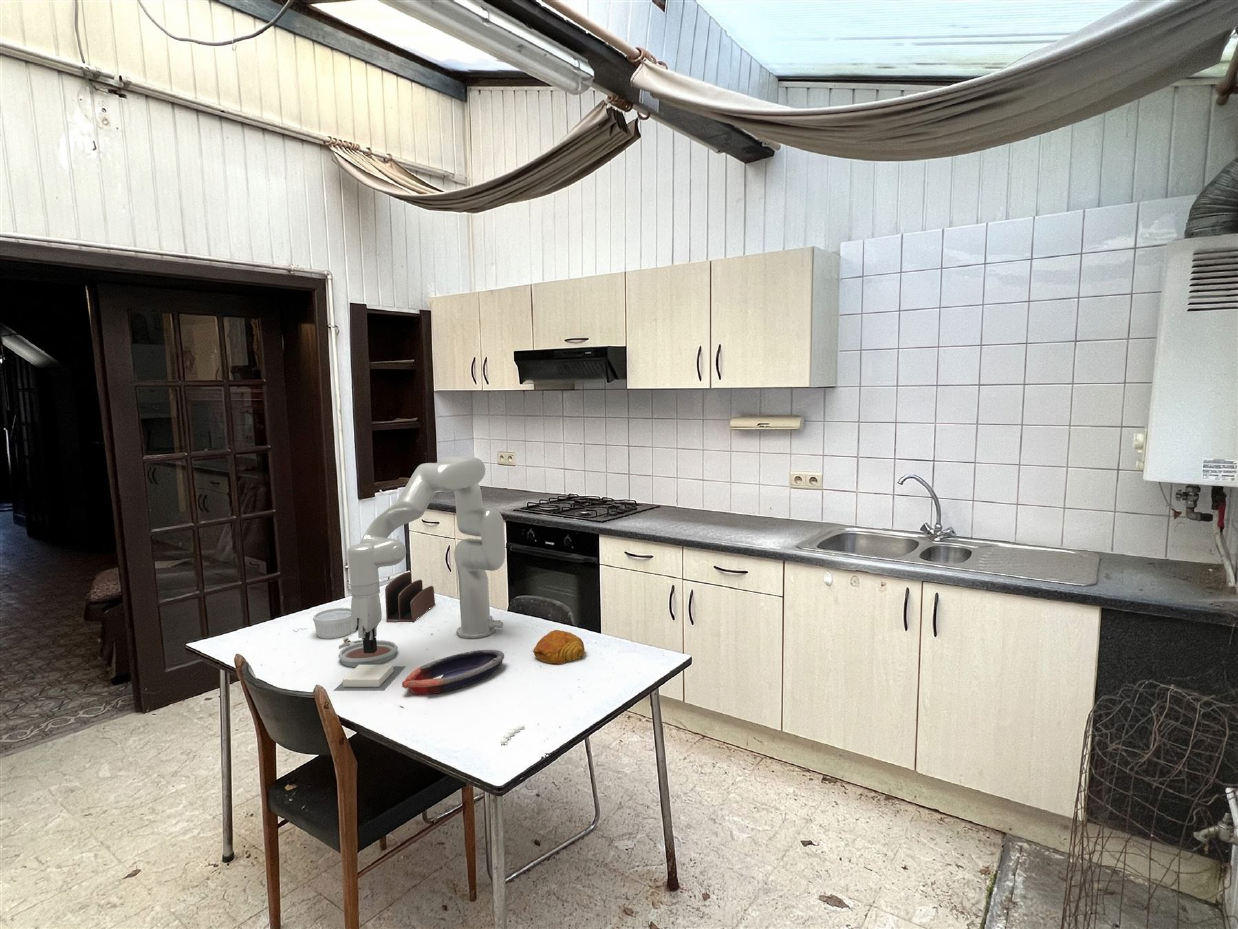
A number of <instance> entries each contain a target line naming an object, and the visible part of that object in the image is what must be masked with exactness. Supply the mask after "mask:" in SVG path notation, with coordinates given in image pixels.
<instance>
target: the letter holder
mask: <svg viewBox="0 0 1238 929" xmlns="http://www.w3.org/2000/svg"><path fill="white" fill-rule="evenodd" d="M423 587H424V586H423V580H422V579H417V580H414V581H413V582H412V573H411V572H410V571H407V572H404V573H402V574H400V575H398V576H397V577H395V578H394V579H392V580H391V581H390V582H389V583H388V584H386V586H385V588H384V590H385V592H384V593H385V594H384V595H385V596H384V597H385V616H386V617H385V619H386V621H385V622H386V623H396V622H413V623H414V622H416V621H417V620H418V619H419V618H420V616H421V615H422V614H423V613H424V614H426V613H427V612H429V610H430V609H429V608H431V607H432V606H433V607H435V606H434V605H436V599H435V588H434V586H433V585H430V586H429V585H428V586H427V587H425V588H423ZM433 607H432V608H433ZM432 608H431V609H432ZM426 611H427V612H426ZM425 612H426V613H425ZM424 614H423V615H424ZM423 615H422V616H423ZM422 616H421V617H422ZM418 617H419V618H418ZM417 618H418V619H417ZM416 619H417V620H416ZM415 620H416V621H415Z"/></svg>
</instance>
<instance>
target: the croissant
mask: <svg viewBox="0 0 1238 929" xmlns="http://www.w3.org/2000/svg"><path fill="white" fill-rule="evenodd" d="M585 649H586V648H585V644H584V641H583V640H582V639H581V638H580V637H579V636H578V635H576V634H573V633H572V632H570V631H565V630H559V629H554V630H551V631H549V632H548V633H547V634H546V635H543V636H542V637H541V639H540V640H538V641H537V643H536V645H535V646H534V648H533V651H532V652H533V655H534V656H535V658H536V659H537V660H539V661H541V662H543V663H545V664H546V663H547V664H557V665H562V664H566V663H567V662H569V661H571V662H573V661H576V660H578V659H581V658H582V657H583V656H584V654H585Z"/></svg>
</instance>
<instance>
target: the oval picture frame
mask: <svg viewBox="0 0 1238 929" xmlns="http://www.w3.org/2000/svg"><path fill="white" fill-rule="evenodd" d="M342 641H343V642H344V643H342V644H340V645H338V649H341V648H342V649H341V650H340V651H339V653H338V655H337V656H338V658H339V660H340V661H341V664H342V665H344V666H347V667H351V668H356V667H357V666H358V665H382V664H384V663H387V662H388V661H390V660H393V658H394V657H396V653H397V651H398V649H399V648H398V645H397V644H396V643H395V642H394V641H390V640H386V639H385V640H383V639H382V640H381V639H379V640H377V639H376V641H377V651H376V652H375V653H364V650H363V640H362V639H356V640H353V641H351V640H350V638H349V637H348V636H344V637H343V640H342Z"/></svg>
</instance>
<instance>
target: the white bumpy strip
mask: <svg viewBox="0 0 1238 929" xmlns="http://www.w3.org/2000/svg"><path fill="white" fill-rule="evenodd" d="M523 730H525V724H520V725H517V726H514V727H513V728H510V729H508V731H506V733H504V734H503V735H502V736H501V738H503V739H500V740H501V741H499V743H501V744H505V743H507V742H508V741H509V740H508V739H509V738H510V739H511V736H512V737H514V736H515V735H516V734H517V732H518V733H520V731H523ZM515 732H516V733H515ZM513 735H514V736H513ZM501 744H500V745H501ZM507 744H508V743H507Z"/></svg>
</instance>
